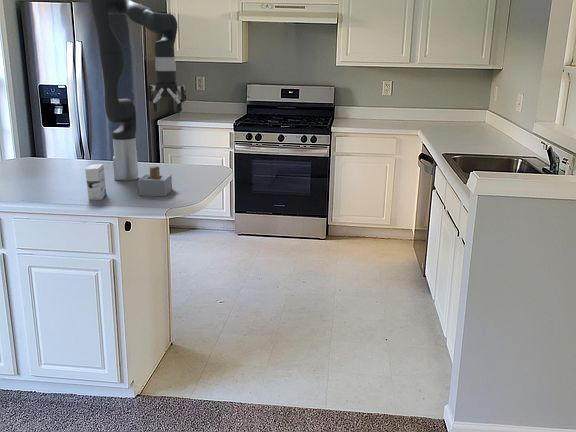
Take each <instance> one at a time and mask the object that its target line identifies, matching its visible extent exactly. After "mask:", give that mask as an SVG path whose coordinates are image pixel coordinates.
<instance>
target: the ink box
mask: <svg viewBox="0 0 576 432" xmlns="http://www.w3.org/2000/svg"><path fill="white" fill-rule="evenodd" d="M85 178H86V186H87V187H86V188H87V197H88V198H87V199H88V200H89V201H96V200H100V201H101V200H103V199H104V197H105V196H106V195H107V188H106V187H107V186H106V177H105V168H104V164H103V163H97V164H90V165H89V166H87V167H86V168H85Z"/></svg>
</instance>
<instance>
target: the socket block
mask: <svg viewBox="0 0 576 432" xmlns="http://www.w3.org/2000/svg"><path fill="white" fill-rule="evenodd" d="M172 179H173V178H172V174H164V173H163V174H162V173H160V179H150V173H147V174H146V173H145V174H144V175H143V176H141V177H140V178H138V180H137V182H138V183H137V185H138V193H139V195H142V197H143V196H145V197H146V196H147V197H148V196H149V197H166V196H167V195H168V194H169V193H171V192H172V191H173V182H172V181H173V180H172ZM139 195H138V196H139Z"/></svg>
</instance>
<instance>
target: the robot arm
mask: <svg viewBox="0 0 576 432" xmlns="http://www.w3.org/2000/svg"><path fill="white" fill-rule="evenodd" d="M90 5H91V11H92V15H93V19H94V23H95V29H96V34H97V40H98V48H99V57H100V64H101V69H102V75H103V76H102V78H103V87H104V90H103V91H104V109H105V115H106V117H107V119H108V121H109V122H111V123H113V124H114V123H115V124H116V123H120V125H119V126H118V128H117V129H115V130H113V131H112V133H111V134H112V135H111V137H112V138H111V139H112V146H113V156H112V166H113V167H112V169H113V176H114V177H113V178H114V180H117V181H124V182H125V181H134V180H137V179H140V178H139V165H138V163H139V162H138V154H137V153H138V152H137V142H136V141H137V140H136V133H137V111H136V105H135V103H134V102H133V100H131V99H130V98H120V99H119V92H118V91H119V90H118V89H119V84H120V81H121V79H122V76H123V74H124V71H125V68H126V59H125V52H124V51H125V50H124V48H123V45H122V44H121V42H120V40H119V38H118V37H117V35H116V34H115V32H114V30H113V28H112V26H111V23H110V18H109V15H123V16H126V17H128V18H129V19H130V21H132V22H133V23H135V24H138V25H140V26H143V27H144V28H146V29H147V30H148V31H150V32H152V33H155V34H162V36H161V39H159V40H156V41H155V43H154V53H155V54H154V55H155V58H154V67H155V82H156V84H155V85H153V84H150V85H148V86H147V91H148V92H147V95H148V98H147V99H148V101H149V102H151V103H152V104H153V111H154V112H155V114H159V112H160V106H159V105H160V104H159V101H160V99H161V98H166V97H167V98H173V99H174V101H176V113H177V114H181V112H182V110H183V106H182V105H183V103H184V102H186V101H187V92H186V91H187V90H186V86H185V85H178V83H177V82H178V81H177V65H176V58H175V42H176V39H177V33H178V21H177V18H176V16H175V15H173V14H171V13H162V12H156V11H155V10H154V9H153V8H151V7H148V6H146V5H144V4H141V3H137V2H135V1H133V0H90ZM155 90H156V91H157V94H156V95H155V97H154V92H155ZM177 91H179V92H180V96H179V94H178V93H177Z"/></svg>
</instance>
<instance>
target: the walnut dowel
mask: <svg viewBox="0 0 576 432" xmlns="http://www.w3.org/2000/svg"><path fill="white" fill-rule="evenodd" d="M149 174H150V179H160V174H161V173H160V166H159V165H153V166H149Z"/></svg>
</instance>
